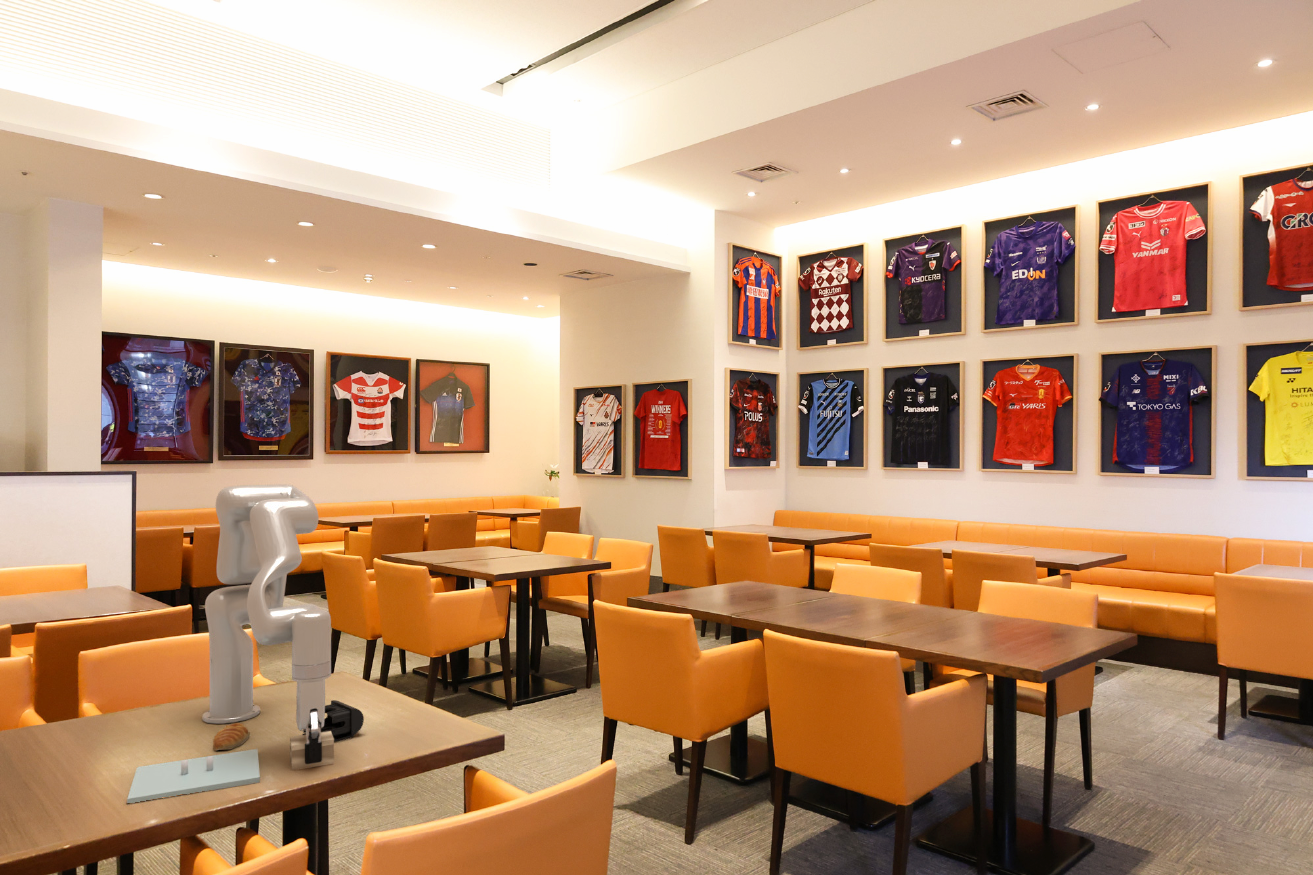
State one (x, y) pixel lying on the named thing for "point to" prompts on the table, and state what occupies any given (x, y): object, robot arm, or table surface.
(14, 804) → the table surface
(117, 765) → the table surface
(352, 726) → the end cap
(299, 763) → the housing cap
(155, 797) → the base plate
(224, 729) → the pastry
